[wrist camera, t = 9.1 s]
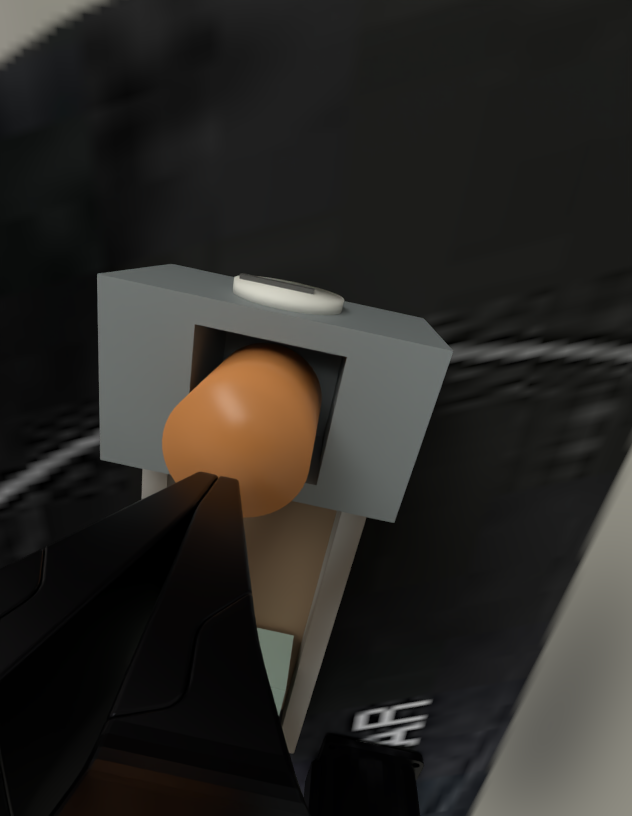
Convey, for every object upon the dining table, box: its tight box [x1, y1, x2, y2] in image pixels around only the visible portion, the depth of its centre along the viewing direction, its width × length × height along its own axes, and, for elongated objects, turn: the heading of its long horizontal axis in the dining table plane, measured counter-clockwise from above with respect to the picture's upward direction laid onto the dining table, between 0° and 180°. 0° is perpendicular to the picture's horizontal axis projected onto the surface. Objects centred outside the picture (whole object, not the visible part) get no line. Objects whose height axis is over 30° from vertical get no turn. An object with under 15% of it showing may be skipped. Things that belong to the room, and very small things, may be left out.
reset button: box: [162, 343, 322, 518], centre depth 12 cm, size 4×4×4 cm
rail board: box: [142, 469, 366, 754], centre depth 20 cm, size 9×18×4 cm, turn 169°
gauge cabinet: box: [97, 264, 453, 523], centre depth 14 cm, size 10×7×5 cm, turn 79°
